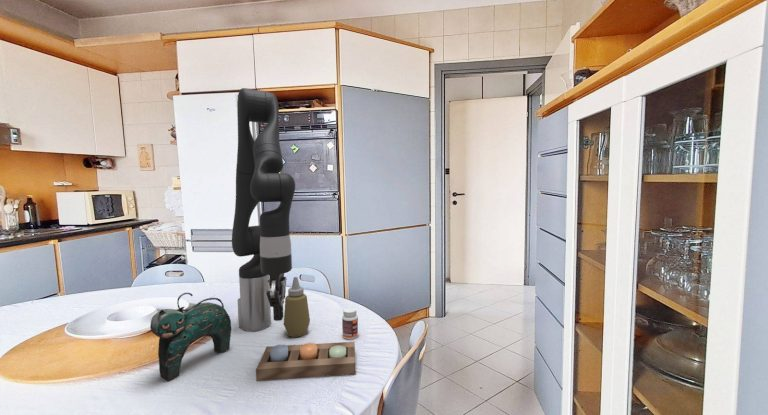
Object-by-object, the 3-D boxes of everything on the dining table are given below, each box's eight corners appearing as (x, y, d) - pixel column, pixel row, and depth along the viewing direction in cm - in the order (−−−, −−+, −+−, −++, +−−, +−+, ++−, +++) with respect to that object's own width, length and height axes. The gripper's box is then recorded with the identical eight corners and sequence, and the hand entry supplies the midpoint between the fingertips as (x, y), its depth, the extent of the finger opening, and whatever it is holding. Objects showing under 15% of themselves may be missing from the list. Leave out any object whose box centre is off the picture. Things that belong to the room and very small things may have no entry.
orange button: (299, 363, 87) (298, 351, 86) (301, 354, 91) (301, 343, 91) (316, 362, 87) (316, 350, 87) (318, 353, 92) (317, 342, 91)
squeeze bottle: (315, 330, 110) (314, 275, 108) (299, 341, 102) (297, 282, 101) (295, 325, 113) (293, 272, 111) (278, 336, 106) (276, 279, 104)
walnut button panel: (256, 381, 83) (255, 369, 82) (266, 357, 93) (266, 346, 93) (355, 374, 85) (355, 362, 85) (354, 351, 96) (354, 341, 96)
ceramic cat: (163, 387, 80) (157, 305, 79) (148, 379, 84) (142, 300, 82) (235, 349, 98) (232, 281, 96) (221, 344, 101) (218, 278, 99)
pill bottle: (355, 340, 103) (355, 313, 102) (340, 338, 104) (339, 312, 103) (359, 333, 107) (359, 307, 107) (345, 331, 108) (344, 306, 107)
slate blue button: (268, 365, 86) (268, 353, 86) (272, 355, 90) (272, 345, 90) (286, 363, 86) (286, 352, 86) (289, 354, 91) (289, 344, 90)
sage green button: (329, 365, 88) (328, 354, 87) (330, 356, 92) (329, 345, 92) (346, 364, 88) (346, 353, 88) (346, 355, 92) (346, 344, 92)
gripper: (286, 258, 80) (289, 329, 81) (295, 247, 93) (297, 308, 94) (253, 259, 79) (256, 331, 80) (266, 248, 92) (269, 310, 93)
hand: (278, 319), depth 87 cm, fingers closed
